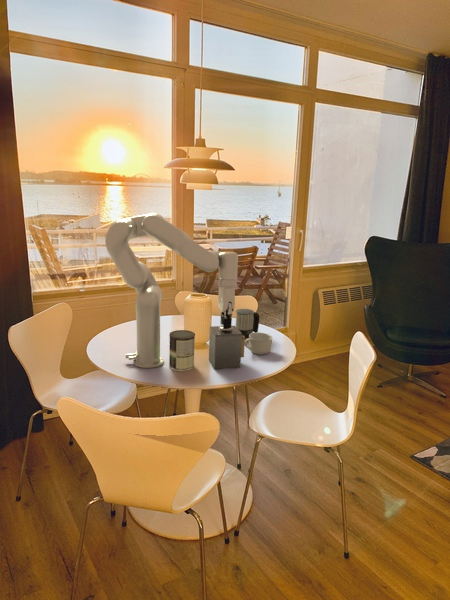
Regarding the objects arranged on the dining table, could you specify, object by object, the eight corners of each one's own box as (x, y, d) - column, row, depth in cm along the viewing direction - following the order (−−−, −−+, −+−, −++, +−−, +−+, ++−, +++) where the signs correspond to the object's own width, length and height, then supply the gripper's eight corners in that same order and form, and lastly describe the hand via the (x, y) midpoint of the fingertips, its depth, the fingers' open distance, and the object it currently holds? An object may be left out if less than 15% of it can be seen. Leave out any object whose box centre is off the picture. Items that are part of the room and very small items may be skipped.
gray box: (214, 369, 175) (215, 334, 172) (208, 359, 186) (209, 326, 182) (246, 367, 179) (248, 333, 175) (239, 358, 189) (240, 325, 185)
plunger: (217, 361, 176) (219, 318, 172) (213, 354, 184) (214, 313, 180) (236, 360, 178) (238, 317, 174) (231, 353, 186) (233, 312, 182)
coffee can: (164, 368, 174) (164, 335, 171) (176, 360, 184) (176, 328, 180) (187, 373, 171) (188, 339, 168) (198, 364, 180) (199, 332, 177)
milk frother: (247, 344, 207) (248, 314, 204) (219, 337, 215) (220, 308, 212) (260, 337, 219) (262, 308, 216) (234, 330, 227) (235, 303, 224)
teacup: (265, 347, 204) (266, 331, 202) (275, 355, 194) (277, 338, 192) (237, 350, 199) (238, 333, 197) (247, 358, 189) (248, 341, 187)
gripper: (213, 278, 181) (212, 320, 185) (223, 287, 165) (221, 332, 169) (231, 278, 182) (229, 320, 187) (242, 286, 167) (240, 332, 171)
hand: (225, 325), depth 178 cm, fingers closed on plunger, 4 cm apart
